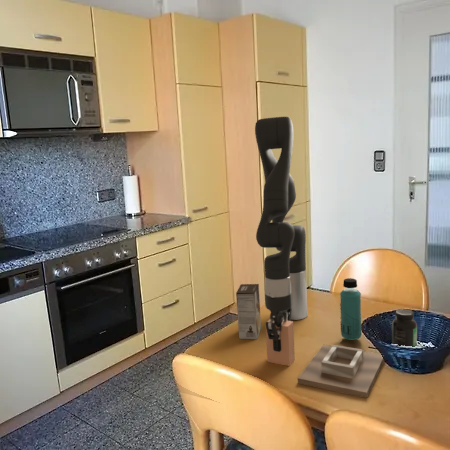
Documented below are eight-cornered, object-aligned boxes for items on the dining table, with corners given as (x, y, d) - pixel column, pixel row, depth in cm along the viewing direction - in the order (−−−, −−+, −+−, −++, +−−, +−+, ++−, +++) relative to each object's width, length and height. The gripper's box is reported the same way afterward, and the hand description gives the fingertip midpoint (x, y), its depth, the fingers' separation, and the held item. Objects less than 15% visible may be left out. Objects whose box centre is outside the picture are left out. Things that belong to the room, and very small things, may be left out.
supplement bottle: (421, 353, 137) (421, 314, 135) (399, 356, 136) (399, 317, 134) (408, 343, 144) (409, 306, 142) (387, 346, 143) (387, 309, 141)
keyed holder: (323, 348, 144) (323, 335, 143) (384, 359, 135) (384, 344, 135) (297, 383, 126) (297, 367, 125) (366, 398, 117) (366, 381, 116)
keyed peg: (272, 355, 142) (271, 318, 140) (294, 359, 139) (293, 321, 136) (267, 361, 139) (265, 323, 136) (289, 366, 135) (288, 326, 133)
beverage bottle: (363, 337, 151) (362, 276, 147) (360, 346, 145) (359, 283, 141) (342, 334, 153) (341, 275, 150) (338, 343, 147) (337, 281, 144)
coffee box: (243, 327, 164) (240, 283, 161) (261, 328, 163) (259, 283, 160) (238, 339, 155) (235, 292, 152) (258, 339, 154) (255, 292, 151)
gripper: (275, 282, 142) (278, 336, 146) (255, 298, 130) (258, 355, 134) (299, 285, 139) (301, 339, 142) (280, 301, 127) (283, 360, 130)
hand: (280, 347), depth 138 cm, fingers closed on keyed peg, 4 cm apart
